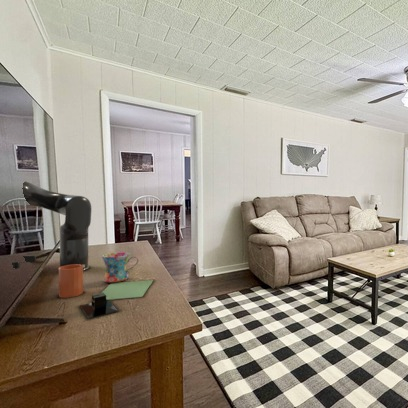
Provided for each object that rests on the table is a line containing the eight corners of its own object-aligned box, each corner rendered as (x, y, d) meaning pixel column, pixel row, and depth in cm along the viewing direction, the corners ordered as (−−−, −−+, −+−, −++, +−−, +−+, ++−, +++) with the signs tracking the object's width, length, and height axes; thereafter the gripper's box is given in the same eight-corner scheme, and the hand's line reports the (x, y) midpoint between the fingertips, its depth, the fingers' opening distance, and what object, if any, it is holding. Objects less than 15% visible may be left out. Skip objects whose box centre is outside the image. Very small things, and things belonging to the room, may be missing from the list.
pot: (64, 292, 101) (64, 264, 100) (86, 290, 104) (86, 263, 103) (54, 298, 95) (54, 269, 95) (78, 296, 98) (78, 268, 97)
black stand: (80, 306, 91) (80, 292, 91) (108, 300, 97) (108, 287, 96) (88, 319, 83) (88, 303, 83) (119, 311, 89) (119, 297, 89)
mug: (99, 285, 108) (99, 258, 107) (103, 279, 115) (103, 253, 115) (137, 281, 114) (138, 255, 114) (138, 275, 122) (139, 251, 122)
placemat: (111, 283, 111) (111, 282, 111) (153, 280, 117) (153, 280, 117) (92, 301, 95) (92, 300, 95) (142, 297, 100) (142, 296, 100)
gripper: (-64, 257, 81) (13, 255, 87) (-25, 247, 94) (40, 246, 101) (-64, 283, 81) (13, 279, 88) (-25, 269, 95) (40, 266, 101)
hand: (27, 261), depth 94 cm, fingers open, 8 cm apart
